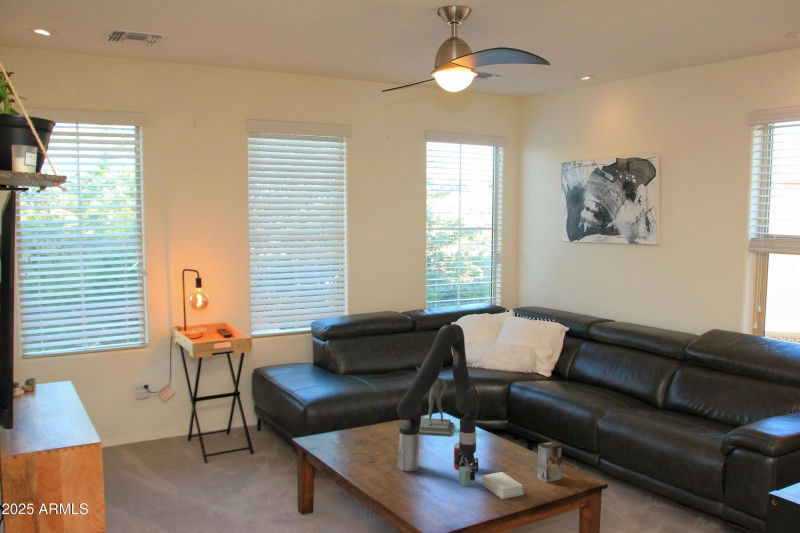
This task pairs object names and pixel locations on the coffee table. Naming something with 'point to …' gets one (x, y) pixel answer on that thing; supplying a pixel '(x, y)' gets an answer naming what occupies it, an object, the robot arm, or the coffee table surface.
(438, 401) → the statue
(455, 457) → the canned food
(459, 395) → the robot arm
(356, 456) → the coffee table surface
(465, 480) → the block
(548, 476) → the coffee box
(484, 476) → the plinth
